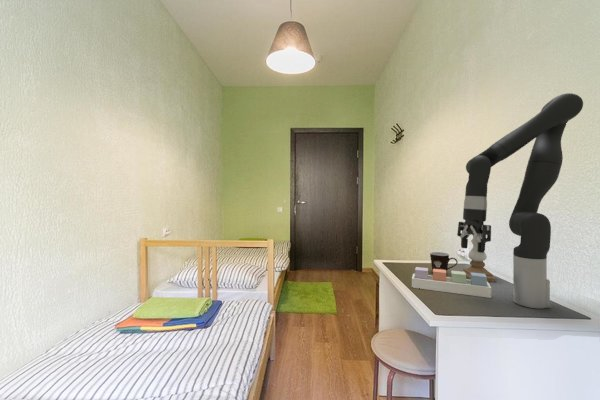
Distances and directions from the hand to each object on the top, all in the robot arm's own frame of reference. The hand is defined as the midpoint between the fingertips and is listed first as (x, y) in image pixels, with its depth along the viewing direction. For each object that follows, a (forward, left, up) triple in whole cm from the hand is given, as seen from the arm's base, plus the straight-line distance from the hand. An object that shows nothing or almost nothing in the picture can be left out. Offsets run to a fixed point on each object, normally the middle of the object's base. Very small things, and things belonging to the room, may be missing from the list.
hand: (472, 250), depth 105 cm
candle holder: (-14, -27, -19) cm, 36 cm away
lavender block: (+15, -12, -15) cm, 25 cm away
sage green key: (+2, -8, -15) cm, 17 cm away
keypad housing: (+5, -9, -18) cm, 21 cm away
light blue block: (-5, -5, -15) cm, 17 cm away
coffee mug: (0, -32, -19) cm, 37 cm away
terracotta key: (+8, -10, -15) cm, 20 cm away
